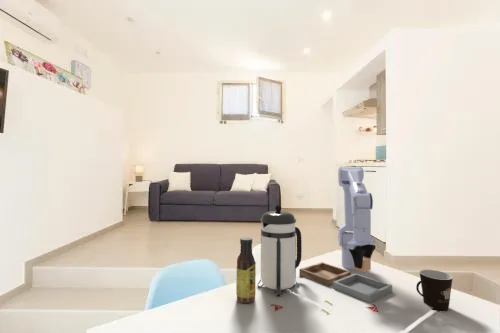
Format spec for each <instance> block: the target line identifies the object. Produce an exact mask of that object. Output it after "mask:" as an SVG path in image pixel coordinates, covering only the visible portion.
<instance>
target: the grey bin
mask: <svg viewBox="0 0 500 333" xmlns="http://www.w3.org/2000/svg"><path fill="white" fill-rule="evenodd" d="M332 289H335V290H337V291H339V292H342V293H343V294H346V295H349V296H351V297H354V298H357V299H358V300H360V301H361V300H362V301H364V302H366V303H369V304H371V303H373V302H375V301H377V300H379V299H382V298H383V297H385V296H387V295H389V294H391V293H392V292H393V285H392V284H389V283H386V282H383V281H380V280H377V279H374V278H371V277H368V276H366V275H364V274H363V275H362V274H359V273H356V272H355V273H351V275H350V276H347V277H344V278H342V279H339V280H336V281H334V282H333V285H332Z"/></svg>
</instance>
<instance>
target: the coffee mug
mask: <svg viewBox="0 0 500 333" xmlns="http://www.w3.org/2000/svg"><path fill="white" fill-rule="evenodd" d="M419 279H420V280H419V281H418V282H417V283H416V291H417V293H418V294H419V295H420V296H421V297H422V299H423V300H422V301H423V303H424V304H425V305H426V306H428V307H431V310H432V311H435V310H436V311H435V312H440V311H442V312H443V311H445V312H448V311H449V306H450V300H451V292H452V284H453V275H451V274H450V273H447V272H444V271H441V270H436V269H421V270H419ZM420 286H421V291H420V289H419V287H420Z"/></svg>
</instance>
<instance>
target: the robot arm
mask: <svg viewBox="0 0 500 333" xmlns="http://www.w3.org/2000/svg"><path fill="white" fill-rule="evenodd" d="M337 173H338V174H337V175H338V178H337V179H338V185H339V186H340V187H342V189H343V196H344V197H343V198H344V201H343V202H344V207H343V208H344V224H343V225H341V226H339V228H338V235H337V240H338V246H340V247H341V264H340V265H338V267H340V266H341V267H343V269H346V270H355V269H354V265H355V267H356V268H359V269H361V268H362V262H363V256H365V257H368V258H372V256H373V253H374V251H375V249H376V245H375V244H376V240H377V239H376V237H374V236H371V235H372V234H371V233H372V230H371V229H372V228H371V226H372V225H371V224H372V222H371V220H372V217H371V213H372V212H371V210H373V207H374V206H373V205H374V200H373V195H372V192H368V190H367V188H366V186H365V184H364V183H363V180H364V176H365V174H364V173H365V171H364V168H363V167H362V166H357V167H356V166H350V167H349V166H339V167H338V170H337Z"/></svg>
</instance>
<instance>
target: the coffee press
mask: <svg viewBox="0 0 500 333" xmlns="http://www.w3.org/2000/svg"><path fill="white" fill-rule="evenodd" d="M274 208H275V210H271V211H266V212H265V213H264V214H262V216H261V218H260V223H261V229H260V236H261V279H260V280H259V281H258V283H257V288H258V289H261V288H263V286H265V287H266V288H268V289H271V290H276V297H281V295H282V293H281V291H282V290H288V289H291V288H292V287H294V288H295V285H297V286H298V287H300V286H299V283H298V282H297V279H296V278H297V271H296V270H297V268H299V266H300V263H301V261H302V232H301V230H300V228H299V227H296V223H297V218H295V215H294V214H293V213H291V212H288V211H285V210H284V211H282V206H281V205H280V204H276V205H275V206H274ZM260 283H262V284H261V285H260Z"/></svg>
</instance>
